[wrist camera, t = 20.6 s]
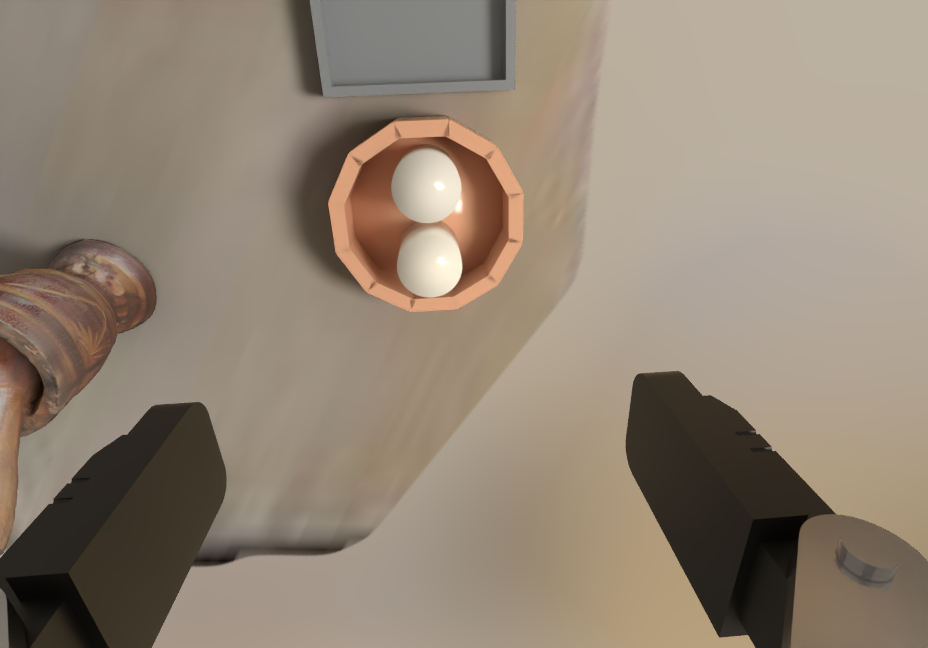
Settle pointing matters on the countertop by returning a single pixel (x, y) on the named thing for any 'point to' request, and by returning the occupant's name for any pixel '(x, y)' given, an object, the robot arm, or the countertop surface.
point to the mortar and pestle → (60, 341)
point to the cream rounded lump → (429, 259)
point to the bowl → (382, 224)
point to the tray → (414, 46)
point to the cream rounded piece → (426, 184)
